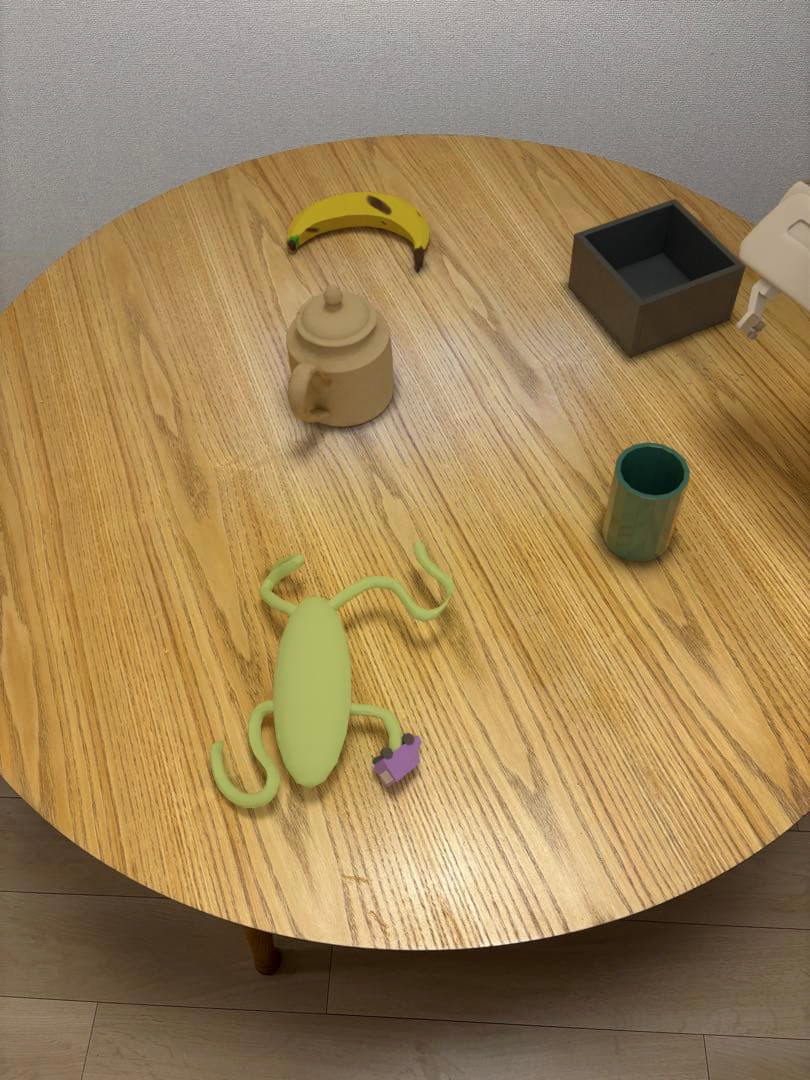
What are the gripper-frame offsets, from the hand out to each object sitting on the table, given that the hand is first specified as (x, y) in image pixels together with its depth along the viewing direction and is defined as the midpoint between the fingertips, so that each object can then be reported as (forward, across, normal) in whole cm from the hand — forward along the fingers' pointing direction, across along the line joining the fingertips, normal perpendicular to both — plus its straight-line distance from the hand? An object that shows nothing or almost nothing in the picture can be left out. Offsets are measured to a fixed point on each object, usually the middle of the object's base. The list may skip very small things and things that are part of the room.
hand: (781, 364), depth 87 cm
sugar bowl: (+31, -33, -7) cm, 46 cm away
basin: (+5, -26, +20) cm, 33 cm away
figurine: (+44, -4, -19) cm, 48 cm away
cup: (+21, -1, +4) cm, 21 cm away
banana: (+21, -55, +4) cm, 59 cm away
